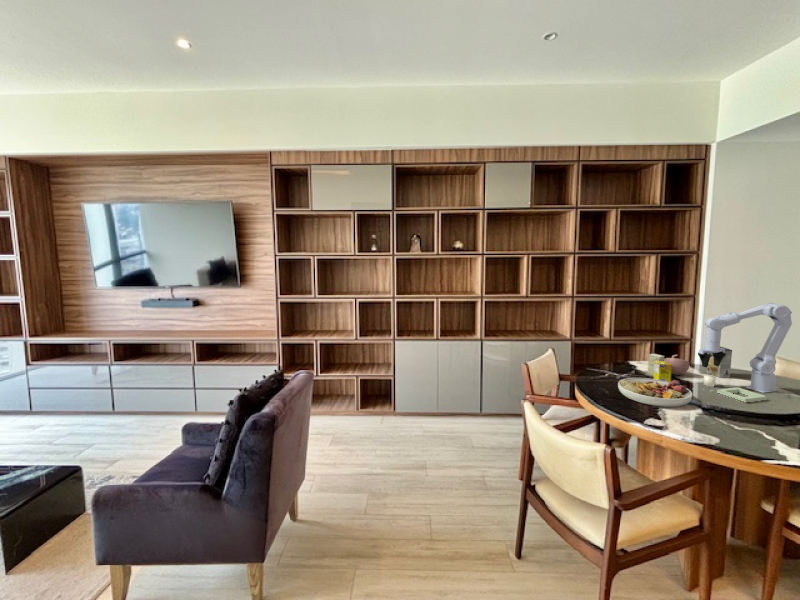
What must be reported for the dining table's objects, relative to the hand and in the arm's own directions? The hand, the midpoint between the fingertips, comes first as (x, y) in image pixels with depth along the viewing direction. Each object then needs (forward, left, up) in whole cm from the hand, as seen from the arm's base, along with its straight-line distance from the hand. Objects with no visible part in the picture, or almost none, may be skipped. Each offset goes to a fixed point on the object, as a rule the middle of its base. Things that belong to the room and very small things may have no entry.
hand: (710, 366), depth 193 cm
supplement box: (+18, -11, -11) cm, 24 cm away
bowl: (+40, +5, -11) cm, 42 cm away
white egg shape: (0, 0, -11) cm, 11 cm away
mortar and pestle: (-1, -20, -11) cm, 23 cm away
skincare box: (+12, -21, -11) cm, 27 cm away
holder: (+1, +16, -11) cm, 19 cm away
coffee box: (-21, -12, -11) cm, 27 cm away
